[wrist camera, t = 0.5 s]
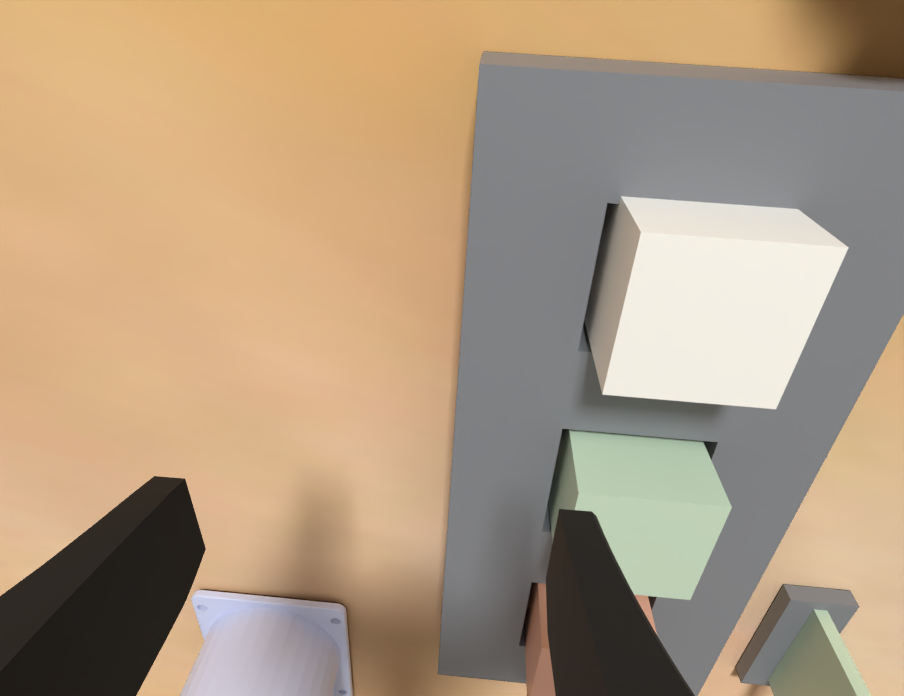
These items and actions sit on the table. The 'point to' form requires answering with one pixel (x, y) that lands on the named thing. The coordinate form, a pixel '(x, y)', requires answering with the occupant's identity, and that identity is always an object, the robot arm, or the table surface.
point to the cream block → (706, 299)
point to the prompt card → (804, 645)
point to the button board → (566, 296)
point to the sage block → (644, 504)
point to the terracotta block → (538, 644)
